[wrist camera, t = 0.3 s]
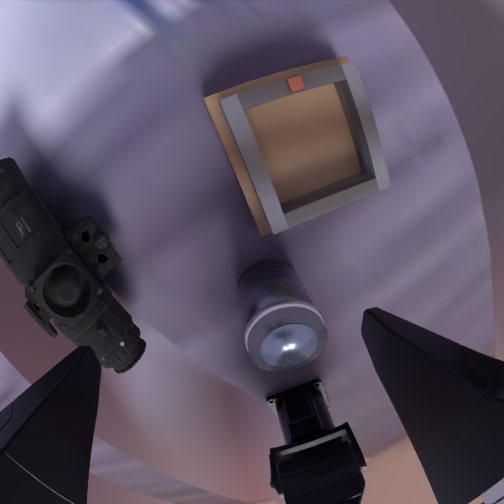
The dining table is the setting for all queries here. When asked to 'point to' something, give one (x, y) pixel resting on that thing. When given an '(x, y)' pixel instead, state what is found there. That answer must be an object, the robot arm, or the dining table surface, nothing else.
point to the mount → (301, 142)
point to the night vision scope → (64, 273)
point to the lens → (279, 318)
